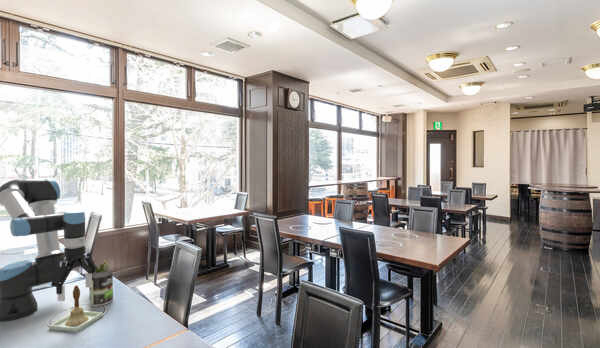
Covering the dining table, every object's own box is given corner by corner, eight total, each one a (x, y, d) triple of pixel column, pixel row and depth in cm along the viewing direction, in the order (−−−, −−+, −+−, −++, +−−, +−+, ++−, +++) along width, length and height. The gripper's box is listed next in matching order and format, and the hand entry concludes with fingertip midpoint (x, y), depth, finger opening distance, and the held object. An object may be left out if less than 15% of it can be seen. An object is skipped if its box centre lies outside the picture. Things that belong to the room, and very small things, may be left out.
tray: (49, 329, 129) (48, 325, 129) (77, 314, 142) (77, 310, 142) (76, 332, 126) (76, 328, 126) (103, 316, 140) (102, 312, 140)
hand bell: (93, 318, 137) (92, 283, 136) (75, 327, 129) (74, 290, 128) (78, 315, 139) (77, 281, 139) (60, 325, 131) (59, 288, 131)
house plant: (90, 286, 173) (89, 258, 173) (117, 283, 178) (116, 256, 177) (80, 297, 160) (79, 266, 159) (110, 293, 164) (109, 264, 163)
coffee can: (118, 298, 159) (117, 271, 158) (101, 307, 149) (101, 278, 148) (101, 296, 161) (100, 270, 160) (84, 305, 151) (83, 277, 150)
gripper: (55, 255, 120) (56, 308, 121) (105, 239, 145) (105, 282, 146) (39, 254, 121) (40, 306, 122) (91, 238, 146) (91, 281, 147)
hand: (75, 293), depth 134 cm, fingers open, 13 cm apart
